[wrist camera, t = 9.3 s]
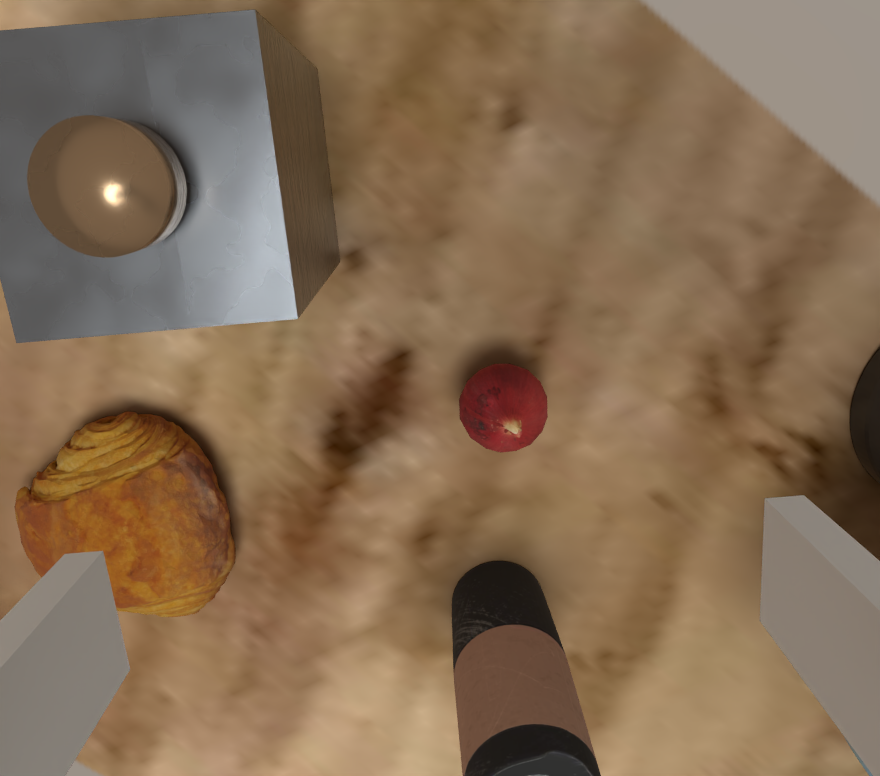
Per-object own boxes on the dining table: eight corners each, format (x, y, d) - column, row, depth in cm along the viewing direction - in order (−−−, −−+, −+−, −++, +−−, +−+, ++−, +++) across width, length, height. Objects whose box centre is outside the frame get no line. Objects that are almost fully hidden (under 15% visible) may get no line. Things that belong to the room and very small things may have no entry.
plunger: (291, 96, 46) (197, 46, 26) (310, 242, 48) (238, 297, 29) (146, 108, 46) (-57, 68, 26) (173, 253, 48) (6, 317, 28)
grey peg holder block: (317, 68, 47) (255, 9, 28) (340, 261, 50) (297, 318, 32) (124, 84, 47) (-61, 35, 28) (161, 277, 50) (16, 342, 32)
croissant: (222, 390, 55) (191, 410, 47) (258, 590, 57) (234, 640, 49) (24, 418, 55) (-40, 442, 47) (69, 617, 57) (15, 672, 49)
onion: (458, 432, 54) (465, 476, 46) (454, 354, 52) (460, 387, 45) (539, 426, 54) (559, 470, 46) (537, 348, 52) (558, 381, 45)
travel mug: (470, 656, 59) (496, 891, 40) (432, 578, 57) (441, 787, 38) (560, 622, 59) (630, 845, 40) (525, 542, 57) (582, 736, 38)
